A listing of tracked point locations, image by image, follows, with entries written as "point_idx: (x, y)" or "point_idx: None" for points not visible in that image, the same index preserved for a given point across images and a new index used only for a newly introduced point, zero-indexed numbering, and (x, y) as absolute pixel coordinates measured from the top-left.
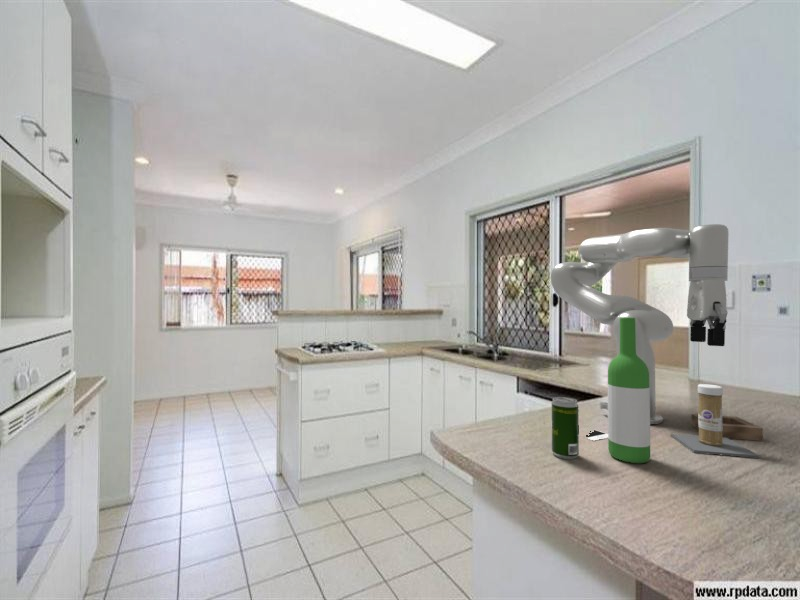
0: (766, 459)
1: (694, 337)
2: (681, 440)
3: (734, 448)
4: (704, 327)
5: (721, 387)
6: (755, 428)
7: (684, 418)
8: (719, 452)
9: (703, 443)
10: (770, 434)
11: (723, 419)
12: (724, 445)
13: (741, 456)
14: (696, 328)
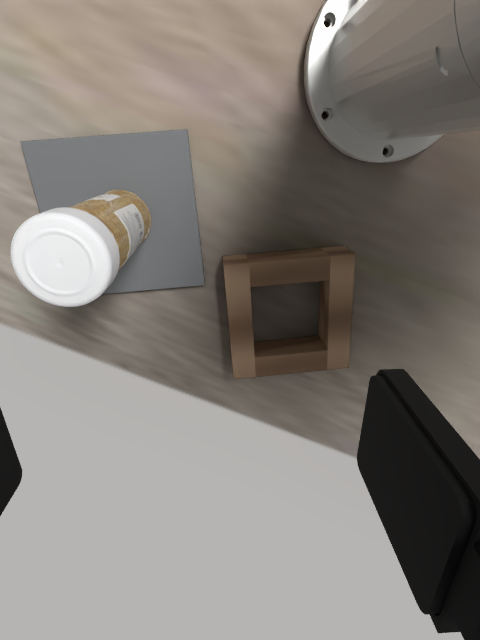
0: (69, 307)
1: (384, 415)
2: (112, 137)
3: None
4: (424, 608)
5: (44, 300)
6: (233, 364)
7: (418, 251)
8: (39, 209)
9: None
10: (297, 399)
11: (326, 328)
12: None
13: None
14: (439, 527)
